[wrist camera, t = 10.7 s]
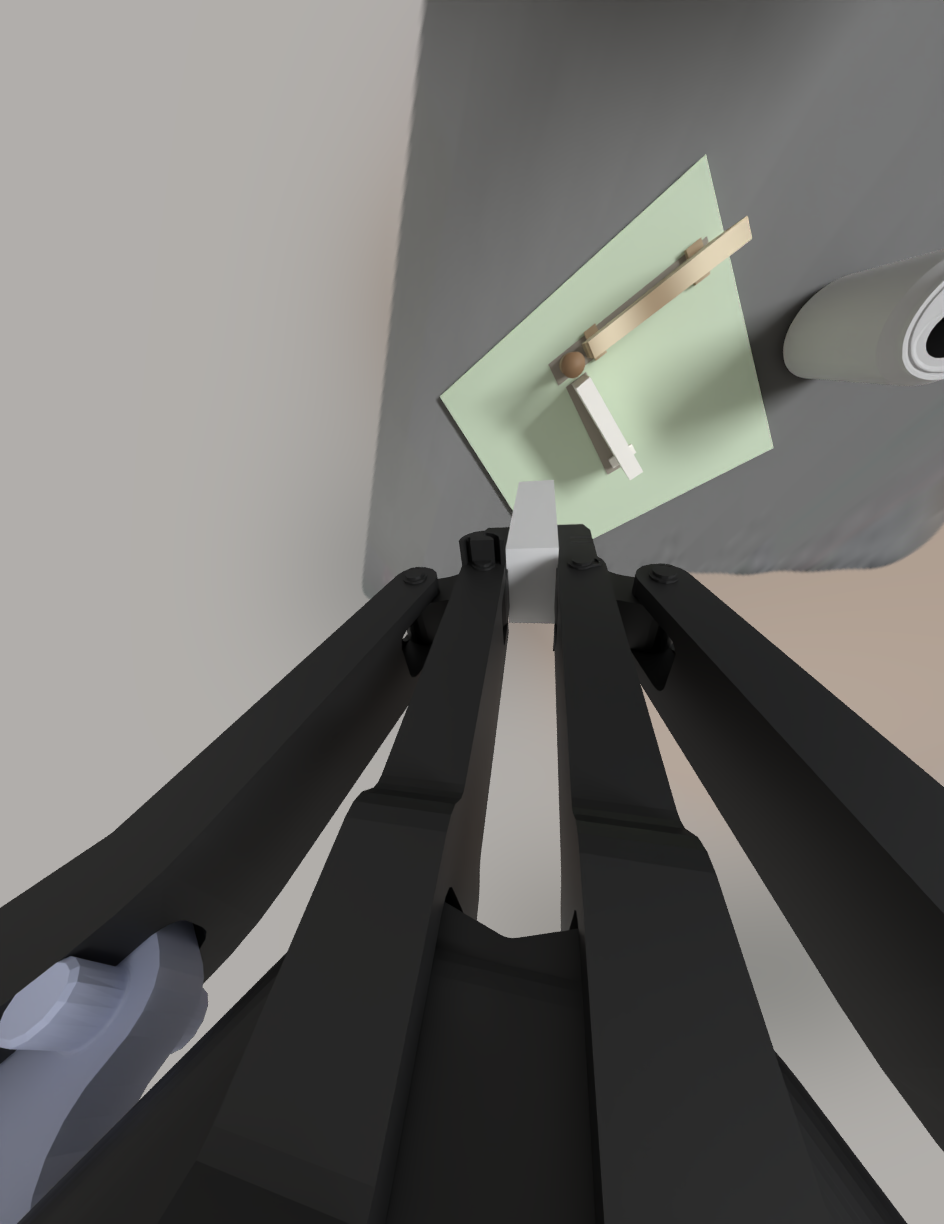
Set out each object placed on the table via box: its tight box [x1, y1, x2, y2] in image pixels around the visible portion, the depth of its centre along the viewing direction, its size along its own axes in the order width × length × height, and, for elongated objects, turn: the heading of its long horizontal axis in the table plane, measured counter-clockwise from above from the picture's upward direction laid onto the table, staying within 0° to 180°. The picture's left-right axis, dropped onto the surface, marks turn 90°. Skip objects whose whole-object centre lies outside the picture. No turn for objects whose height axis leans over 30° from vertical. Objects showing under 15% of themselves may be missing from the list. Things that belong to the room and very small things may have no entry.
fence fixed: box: [559, 216, 752, 378], centre depth 25 cm, size 12×2×8 cm, turn 126°
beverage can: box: [783, 249, 944, 386], centre depth 22 cm, size 6×6×12 cm
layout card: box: [440, 155, 773, 539], centre depth 33 cm, size 24×22×1 cm
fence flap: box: [572, 374, 643, 480], centre depth 30 cm, size 9×2×6 cm, turn 41°
